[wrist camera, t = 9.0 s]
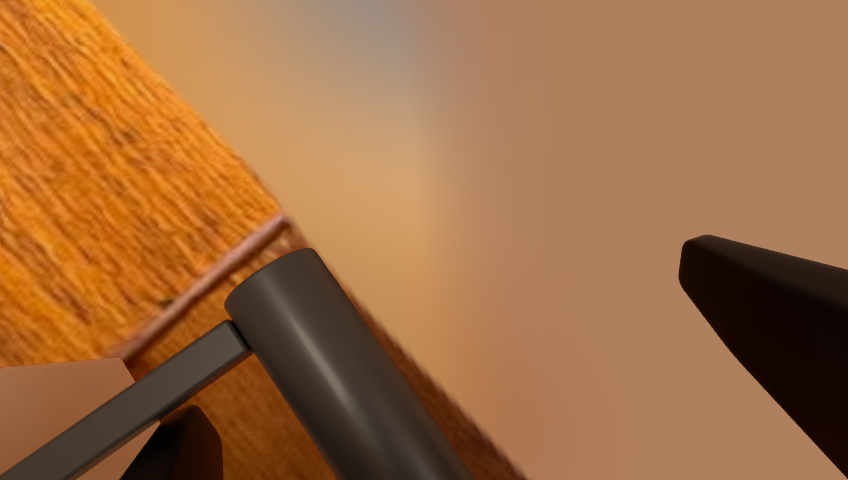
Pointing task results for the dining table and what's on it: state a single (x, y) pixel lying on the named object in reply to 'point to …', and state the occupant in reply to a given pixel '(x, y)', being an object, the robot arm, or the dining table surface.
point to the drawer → (209, 360)
